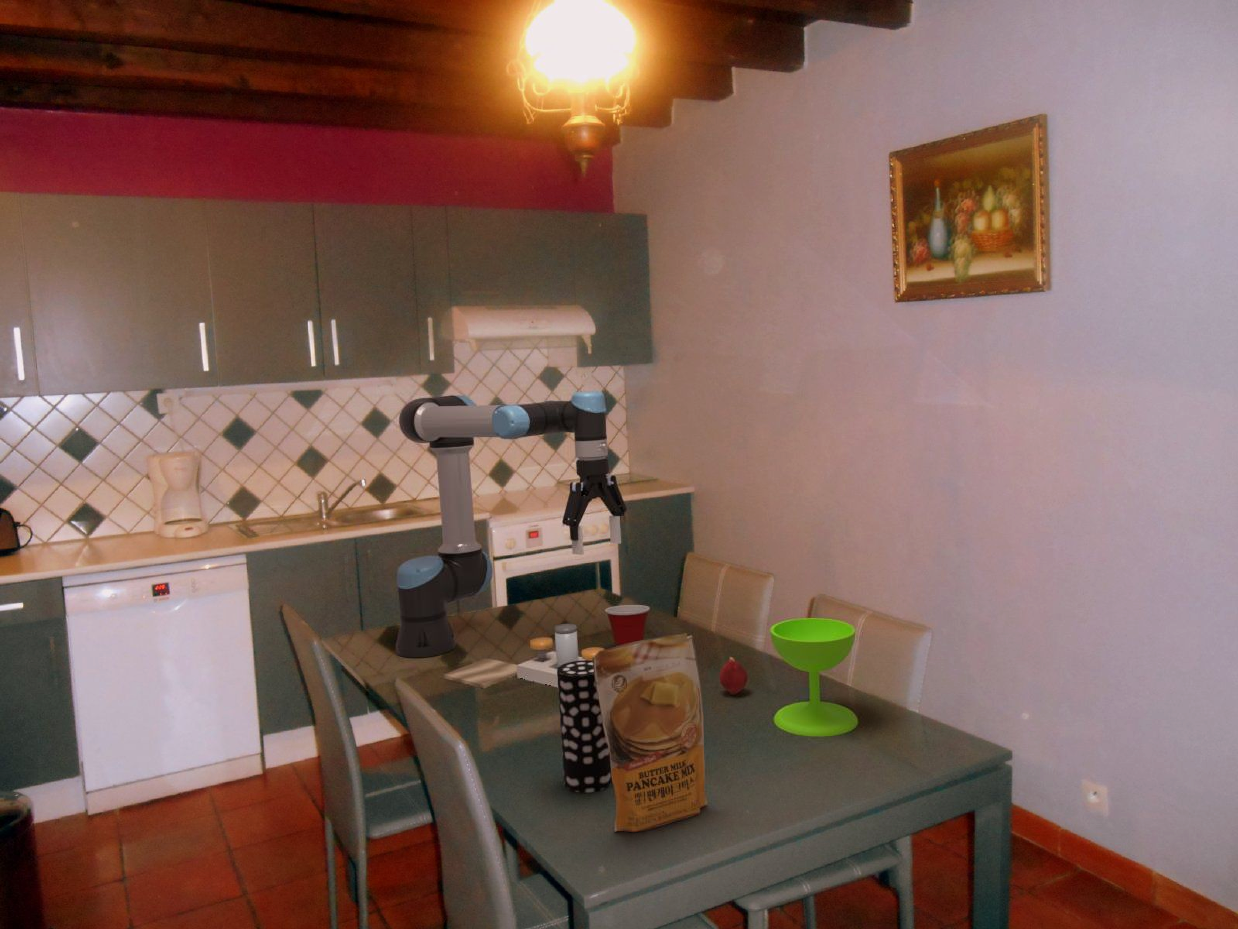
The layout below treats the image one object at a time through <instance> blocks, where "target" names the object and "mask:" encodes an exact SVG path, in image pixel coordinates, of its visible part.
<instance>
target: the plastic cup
mask: <svg viewBox="0 0 1238 929" xmlns="http://www.w3.org/2000/svg"><path fill="white" fill-rule="evenodd" d="M650 609H651V608H650V606H647V605H643V604H642V605H641V604H621V605H615V606H614V605H613V606H610V607H607V608H606V609H604V611H605V613H606V614H607V617H608V620H609V624H610V628H611V633H612V637H613V642H614V645H615V647H616V646H620V645H624V644H628V643H632V642H636V641H641V640H645V632H646V625H647V624H646V623H647V622H646V621H647V616H648V613H649V611H650Z"/></svg>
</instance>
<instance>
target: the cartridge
mask: <svg viewBox="0 0 1238 929" xmlns="http://www.w3.org/2000/svg"><path fill="white" fill-rule="evenodd" d="M577 628H578V627H577V625H576V624H573V623H562V624H561V623H560V624H558V625H555V626H554V639H555V640H554V641H555V642H554V643H555V652H556V660H557V668H558V667H559V666H561V665H563V664H565V663H568V662H573V661H579V659H578V657H579V647H578V631H577V630H578V629H577Z"/></svg>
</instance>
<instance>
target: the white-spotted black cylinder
mask: <svg viewBox="0 0 1238 929" xmlns="http://www.w3.org/2000/svg"><path fill="white" fill-rule="evenodd" d="M557 680H558V687H557V691H558V708H559V726H560V737H561V741H560V742H561V754H562V767H563V768H562V769H563V770H562V771H563V784H564V786H565V788H566V789H568V790H569V791H572V792H576V793H584V794H585V793H594V792H600V791H602V790H604V789H607V788H608V787H609V786H611V785H613V782H612V775H611V763H610V752H609V748H608V744H607V741H606V737H605V733H604V729H603V724H602V717H601V710H600V704H599V697H598V694H597V690H596V685H595V677H594V669H593V660H580V661H573V662H568V663H565V664H563V665H561V666H559V667H558V668H557Z"/></svg>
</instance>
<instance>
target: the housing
mask: <svg viewBox="0 0 1238 929" xmlns="http://www.w3.org/2000/svg"><path fill="white" fill-rule="evenodd" d="M546 655H547V659H546V660H538V656H536V657H534V658H532V659H529V660H527V661H523V662H521V663H519V664H516V665H517V675H516V676H517V679H520V678H523V679H522V680H524V679H525V680H524V681H529V682H533V681H534V682H533V683H538V684H542V685H545V684H547V686H549V685H551V686H550V687H554V688H558V680H557V660H556V651H554V650H553V651H550V652H546ZM578 659H579V661H580V660H584V659H582V656H578Z"/></svg>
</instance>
